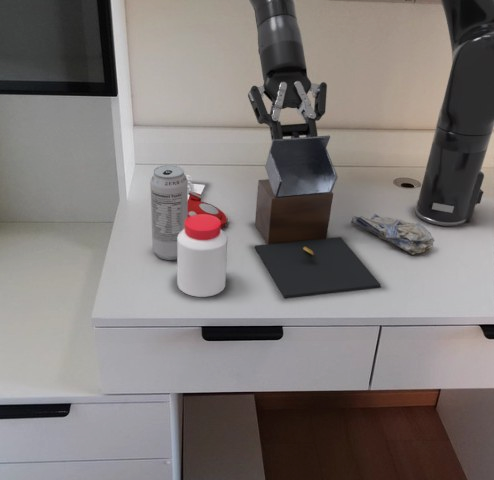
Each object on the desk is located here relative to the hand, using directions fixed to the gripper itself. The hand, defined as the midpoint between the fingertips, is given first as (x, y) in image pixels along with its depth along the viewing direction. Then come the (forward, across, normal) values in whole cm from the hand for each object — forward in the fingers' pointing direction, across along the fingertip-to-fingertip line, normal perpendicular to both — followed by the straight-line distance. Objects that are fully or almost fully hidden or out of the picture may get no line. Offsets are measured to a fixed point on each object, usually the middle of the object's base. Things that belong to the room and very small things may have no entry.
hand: (295, 143), depth 105 cm
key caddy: (+4, 0, +3) cm, 5 cm away
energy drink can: (+15, -23, +7) cm, 28 cm away
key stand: (+13, 0, +10) cm, 16 cm away
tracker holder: (+8, -15, +16) cm, 23 cm away
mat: (+21, 0, 0) cm, 21 cm away
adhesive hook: (-1, -16, +25) cm, 29 cm away
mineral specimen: (+17, +18, +6) cm, 25 cm away
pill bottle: (+23, -20, 0) cm, 30 cm away
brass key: (+19, 0, +1) cm, 19 cm away
